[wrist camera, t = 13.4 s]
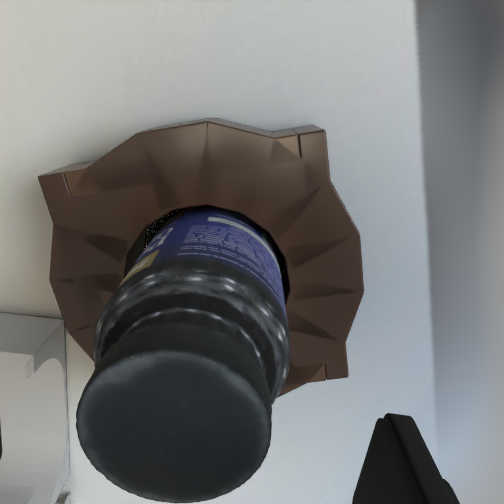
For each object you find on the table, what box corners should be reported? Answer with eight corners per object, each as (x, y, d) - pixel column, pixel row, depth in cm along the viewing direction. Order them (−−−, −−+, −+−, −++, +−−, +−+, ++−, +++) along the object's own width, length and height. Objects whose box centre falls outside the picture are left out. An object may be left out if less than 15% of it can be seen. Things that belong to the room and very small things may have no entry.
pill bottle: (164, 185, 19) (53, 291, 8) (293, 216, 19) (337, 353, 9) (143, 302, 21) (34, 503, 11) (260, 328, 21) (266, 544, 11)
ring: (335, 97, 17) (350, 96, 15) (356, 354, 22) (371, 392, 19) (42, 146, 18) (3, 154, 15) (120, 385, 23) (100, 425, 20)
